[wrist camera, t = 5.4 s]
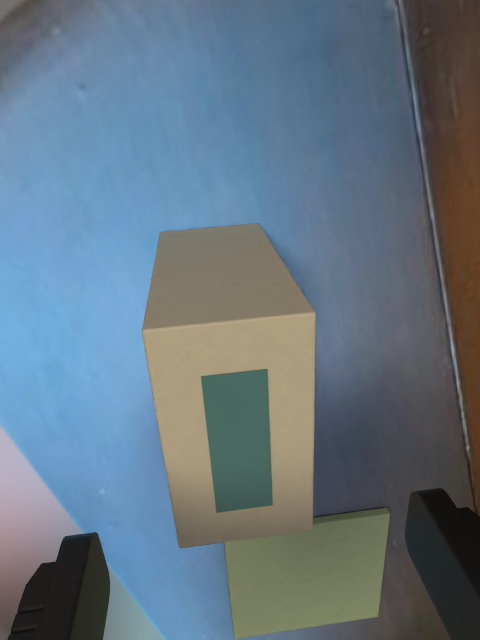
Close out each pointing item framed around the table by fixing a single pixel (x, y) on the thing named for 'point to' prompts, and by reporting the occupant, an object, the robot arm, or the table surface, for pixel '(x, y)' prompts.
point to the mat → (308, 574)
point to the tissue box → (231, 384)
